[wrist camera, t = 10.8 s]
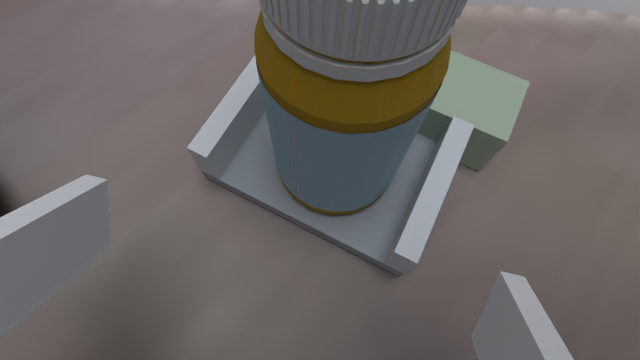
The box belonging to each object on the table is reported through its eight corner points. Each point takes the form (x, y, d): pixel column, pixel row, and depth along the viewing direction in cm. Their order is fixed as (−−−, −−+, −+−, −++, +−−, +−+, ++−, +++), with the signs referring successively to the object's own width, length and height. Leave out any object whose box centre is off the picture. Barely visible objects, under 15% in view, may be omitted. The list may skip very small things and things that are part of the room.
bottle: (355, 241, 21) (439, 61, 7) (254, 178, 23) (164, -74, 9) (412, 147, 24) (556, -122, 10) (317, 95, 25) (325, -207, 11)
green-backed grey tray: (498, 118, 26) (531, 80, 22) (430, 293, 22) (457, 283, 18) (293, 30, 29) (290, -18, 25) (193, 171, 24) (171, 139, 20)
